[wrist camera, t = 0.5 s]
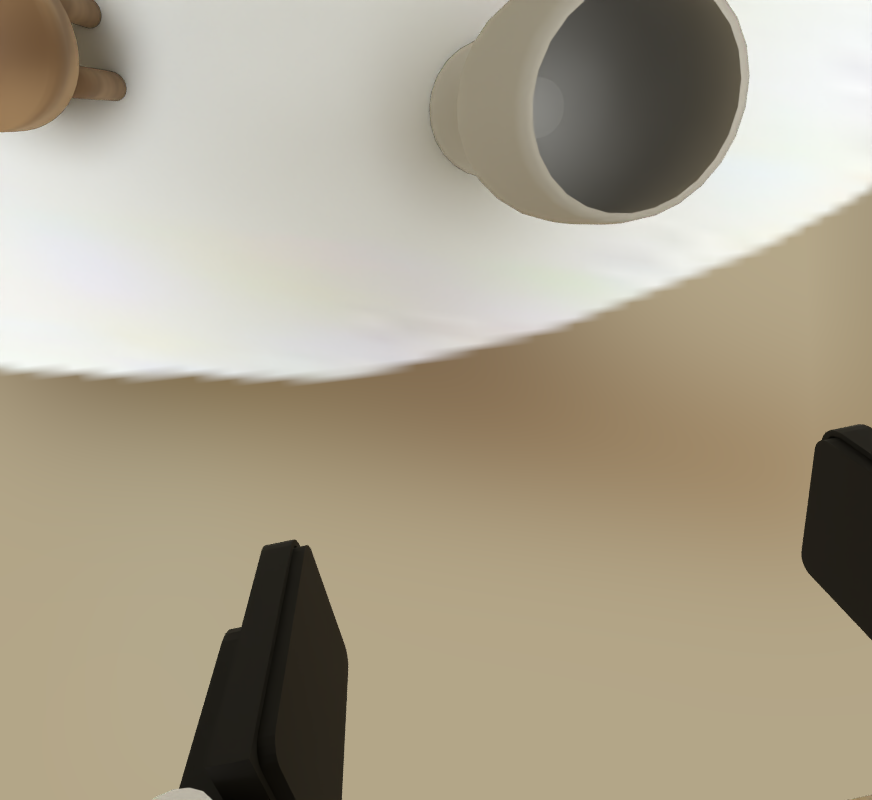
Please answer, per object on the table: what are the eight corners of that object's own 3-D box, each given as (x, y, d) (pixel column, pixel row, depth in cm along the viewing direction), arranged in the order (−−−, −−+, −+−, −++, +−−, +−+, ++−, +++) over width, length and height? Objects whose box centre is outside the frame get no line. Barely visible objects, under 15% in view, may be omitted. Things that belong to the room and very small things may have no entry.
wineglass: (432, 187, 35) (497, 267, 17) (419, 40, 32) (482, -69, 13) (556, 173, 36) (757, 237, 17) (556, 27, 32) (807, -98, 14)
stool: (-33, -14, 29) (-203, -68, 21) (107, -37, 29) (-5, -101, 21) (31, 138, 32) (-94, 146, 24) (157, 117, 32) (79, 117, 24)
